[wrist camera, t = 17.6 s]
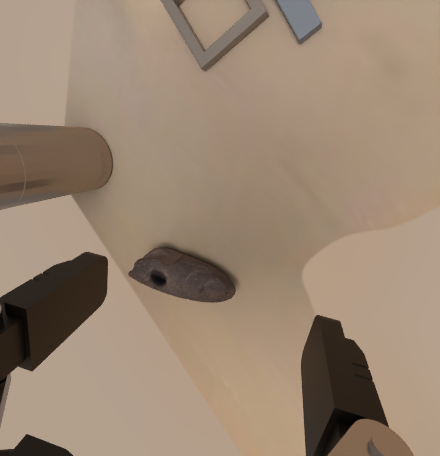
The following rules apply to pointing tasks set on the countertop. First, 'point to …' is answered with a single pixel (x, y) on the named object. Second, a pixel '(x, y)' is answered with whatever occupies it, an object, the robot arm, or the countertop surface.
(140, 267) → the perforated stone tool
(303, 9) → the door sill
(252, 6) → the holder open
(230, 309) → the countertop surface
